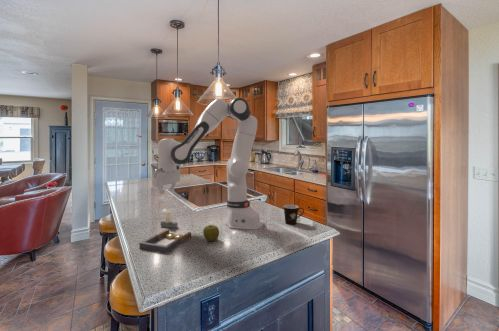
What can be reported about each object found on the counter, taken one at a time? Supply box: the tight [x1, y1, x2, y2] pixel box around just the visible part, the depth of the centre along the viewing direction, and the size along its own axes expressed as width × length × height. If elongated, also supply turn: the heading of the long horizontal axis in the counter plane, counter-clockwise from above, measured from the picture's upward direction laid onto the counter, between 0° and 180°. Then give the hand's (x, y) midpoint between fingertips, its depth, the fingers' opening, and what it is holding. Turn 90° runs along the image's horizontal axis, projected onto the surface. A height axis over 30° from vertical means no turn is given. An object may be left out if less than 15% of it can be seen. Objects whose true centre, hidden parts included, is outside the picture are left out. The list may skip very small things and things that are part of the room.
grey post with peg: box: [160, 210, 179, 229], centre depth 149 cm, size 10×2×9 cm, turn 70°
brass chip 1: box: [165, 232, 176, 240], centre depth 134 cm, size 4×4×2 cm
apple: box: [202, 224, 220, 242], centre depth 129 cm, size 8×8×7 cm
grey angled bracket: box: [139, 234, 181, 254], centre depth 123 cm, size 15×10×2 cm, turn 70°
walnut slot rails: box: [155, 228, 192, 245], centre depth 132 cm, size 15×9×2 cm, turn 70°
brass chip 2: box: [173, 233, 184, 241], centre depth 132 cm, size 4×4×2 cm
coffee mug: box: [283, 204, 305, 226], centre depth 154 cm, size 12×9×10 cm
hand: (167, 192), depth 147 cm, fingers open, 8 cm apart
